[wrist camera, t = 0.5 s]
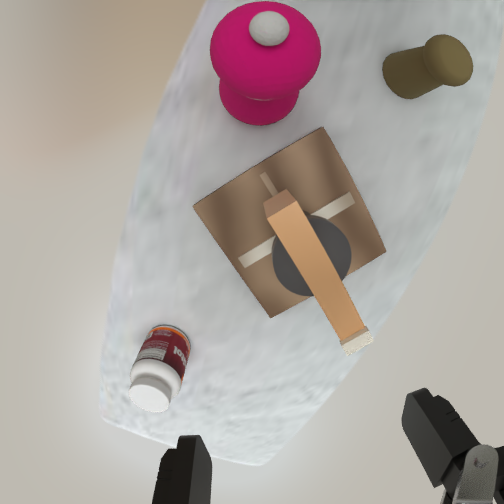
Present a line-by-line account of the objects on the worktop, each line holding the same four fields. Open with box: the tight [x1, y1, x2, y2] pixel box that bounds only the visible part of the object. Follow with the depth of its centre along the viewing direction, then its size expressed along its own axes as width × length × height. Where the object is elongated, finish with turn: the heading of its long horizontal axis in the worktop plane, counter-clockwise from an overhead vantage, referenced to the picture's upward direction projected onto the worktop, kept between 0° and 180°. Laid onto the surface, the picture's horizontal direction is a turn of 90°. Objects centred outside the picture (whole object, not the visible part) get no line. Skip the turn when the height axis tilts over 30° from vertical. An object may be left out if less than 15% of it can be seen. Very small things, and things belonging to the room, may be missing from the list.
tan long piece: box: [263, 189, 374, 356], centre depth 22 cm, size 6×12×8 cm, turn 32°
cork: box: [382, 35, 473, 99], centre depth 22 cm, size 6×6×11 cm
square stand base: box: [193, 127, 386, 318], centre depth 30 cm, size 16×16×8 cm
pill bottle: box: [129, 326, 190, 413], centre depth 33 cm, size 6×6×11 cm
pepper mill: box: [210, 1, 321, 125], centre depth 19 cm, size 7×7×20 cm
